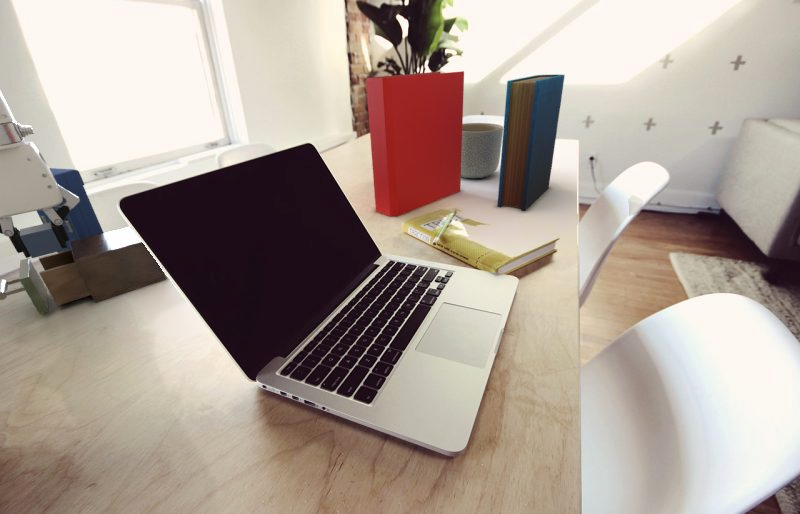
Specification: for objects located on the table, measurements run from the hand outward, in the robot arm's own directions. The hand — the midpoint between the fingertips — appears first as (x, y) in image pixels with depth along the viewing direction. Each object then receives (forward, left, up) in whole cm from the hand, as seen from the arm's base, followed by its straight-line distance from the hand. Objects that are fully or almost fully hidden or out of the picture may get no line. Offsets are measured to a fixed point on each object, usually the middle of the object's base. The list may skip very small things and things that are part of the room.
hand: (46, 249), depth 64 cm
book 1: (+78, -8, -10) cm, 79 cm away
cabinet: (+9, 0, -10) cm, 13 cm away
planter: (+108, -3, -10) cm, 109 cm away
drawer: (-1, 0, -9) cm, 9 cm away
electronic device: (+4, +12, -10) cm, 16 cm away
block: (0, 0, 0) cm, 0 cm away
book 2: (+101, -27, -10) cm, 105 cm away
